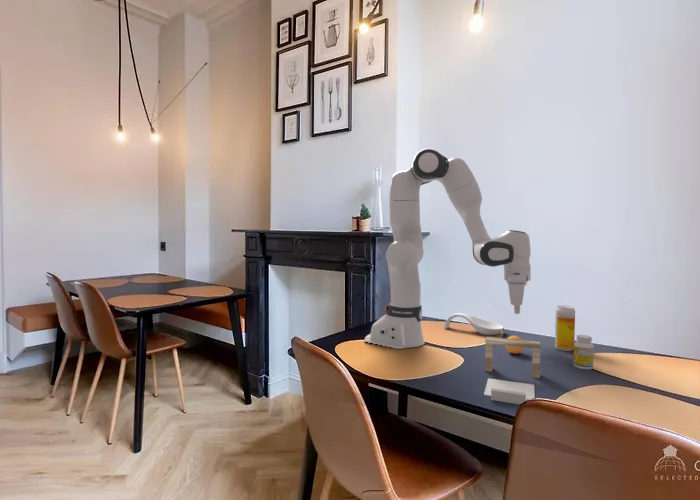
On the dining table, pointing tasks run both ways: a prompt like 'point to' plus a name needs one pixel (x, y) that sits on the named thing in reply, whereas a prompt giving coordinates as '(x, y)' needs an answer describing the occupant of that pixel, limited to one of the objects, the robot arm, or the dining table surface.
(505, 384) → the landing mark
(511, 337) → the ball
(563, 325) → the orange yellow canister
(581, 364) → the supplement bottle
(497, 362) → the dining table surface
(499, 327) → the spoon rest
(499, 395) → the block
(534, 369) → the bridge
